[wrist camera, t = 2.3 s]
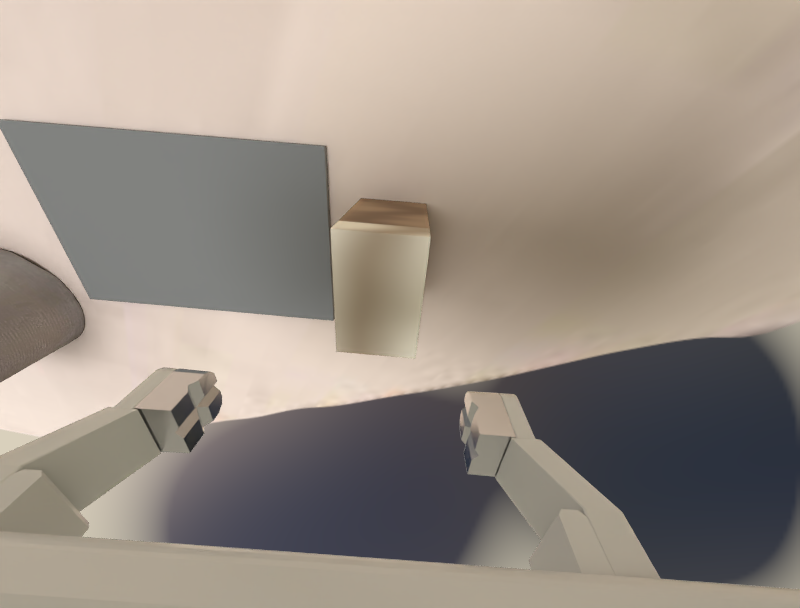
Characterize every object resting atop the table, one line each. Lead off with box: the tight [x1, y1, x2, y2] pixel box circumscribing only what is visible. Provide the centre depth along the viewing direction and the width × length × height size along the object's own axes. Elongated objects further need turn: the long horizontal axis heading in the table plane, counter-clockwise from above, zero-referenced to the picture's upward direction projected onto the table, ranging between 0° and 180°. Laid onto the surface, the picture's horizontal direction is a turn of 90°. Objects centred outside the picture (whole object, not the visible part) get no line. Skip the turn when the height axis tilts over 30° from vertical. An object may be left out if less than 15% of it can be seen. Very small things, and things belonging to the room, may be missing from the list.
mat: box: [0, 119, 335, 321], centre depth 21 cm, size 21×13×1 cm, turn 86°
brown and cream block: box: [330, 198, 431, 359], centre depth 18 cm, size 4×7×8 cm, turn 176°
